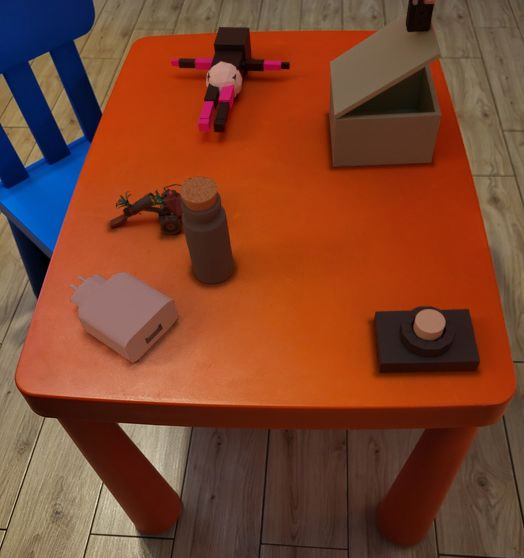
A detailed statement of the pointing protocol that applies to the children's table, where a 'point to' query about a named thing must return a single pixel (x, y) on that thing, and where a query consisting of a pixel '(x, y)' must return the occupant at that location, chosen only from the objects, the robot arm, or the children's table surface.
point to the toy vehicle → (154, 209)
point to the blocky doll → (226, 73)
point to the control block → (425, 343)
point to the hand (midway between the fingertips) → (417, 28)
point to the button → (429, 324)
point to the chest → (389, 125)
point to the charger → (123, 312)
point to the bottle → (206, 230)
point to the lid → (380, 63)
